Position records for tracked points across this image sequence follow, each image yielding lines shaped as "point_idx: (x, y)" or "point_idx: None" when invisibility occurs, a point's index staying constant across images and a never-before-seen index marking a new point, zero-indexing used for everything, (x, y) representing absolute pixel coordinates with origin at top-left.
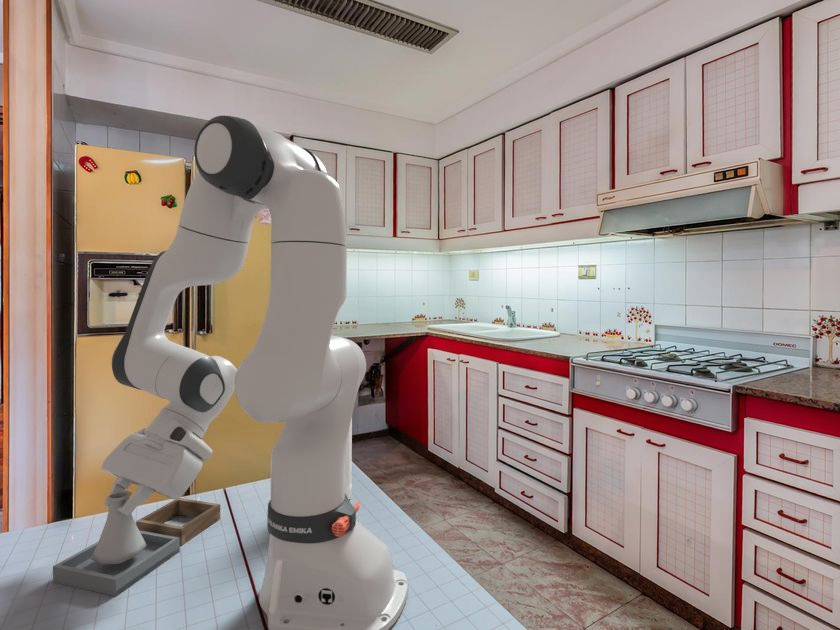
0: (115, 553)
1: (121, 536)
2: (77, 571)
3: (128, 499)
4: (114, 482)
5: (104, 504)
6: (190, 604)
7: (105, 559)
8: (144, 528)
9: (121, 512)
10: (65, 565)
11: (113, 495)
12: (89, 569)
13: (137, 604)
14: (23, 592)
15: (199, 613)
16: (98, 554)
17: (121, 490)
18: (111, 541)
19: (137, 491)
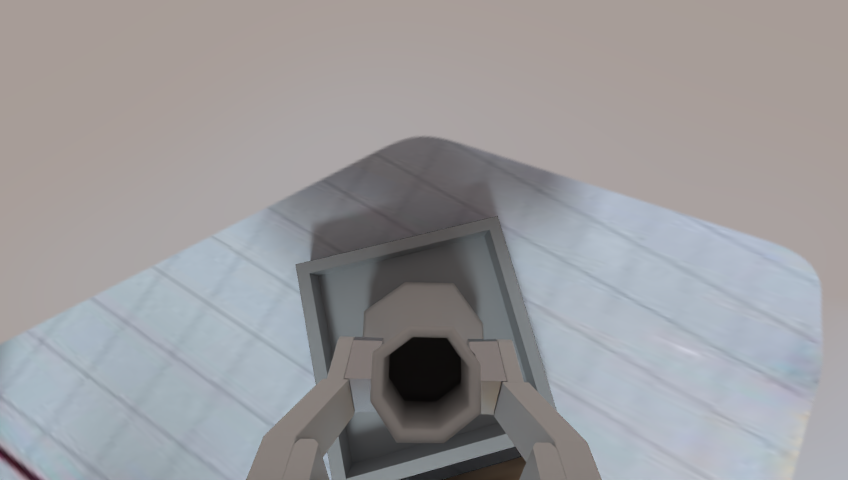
0: (378, 309)
1: (375, 332)
2: (419, 235)
3: (339, 386)
4: (578, 442)
5: (502, 339)
6: (128, 338)
7: (397, 291)
8: (516, 477)
9: (346, 336)
10: (491, 242)
11: (468, 370)
12: (451, 281)
13: (241, 278)
14: (500, 180)
15: (85, 329)
16: (426, 287)
17: (525, 447)
18: (395, 309)
19: (291, 440)
